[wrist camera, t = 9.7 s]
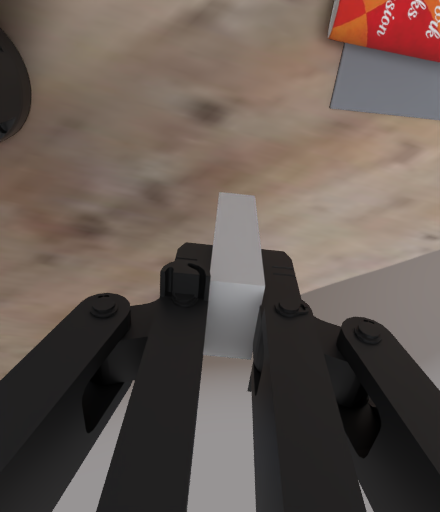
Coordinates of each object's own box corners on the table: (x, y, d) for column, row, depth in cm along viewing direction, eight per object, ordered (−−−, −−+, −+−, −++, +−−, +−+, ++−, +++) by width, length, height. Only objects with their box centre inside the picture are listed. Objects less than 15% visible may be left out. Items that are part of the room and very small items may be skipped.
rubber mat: (329, 107, 43) (330, 108, 43) (376, -98, 34) (378, -99, 34) (462, 122, 44) (465, 122, 43) (545, -78, 34) (549, -80, 34)
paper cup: (353, -69, 32) (519, -49, 31) (332, 1, 40) (464, 18, 39) (339, 13, 32) (508, 35, 31) (320, 67, 39) (454, 87, 38)
